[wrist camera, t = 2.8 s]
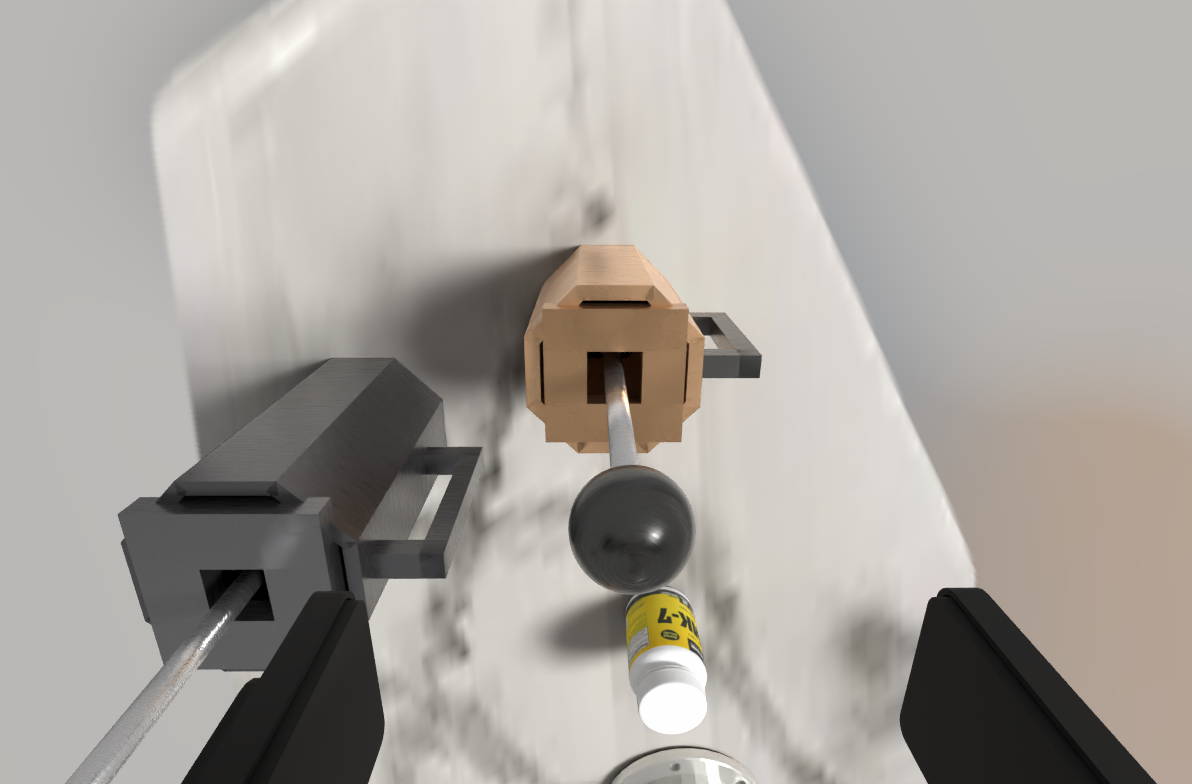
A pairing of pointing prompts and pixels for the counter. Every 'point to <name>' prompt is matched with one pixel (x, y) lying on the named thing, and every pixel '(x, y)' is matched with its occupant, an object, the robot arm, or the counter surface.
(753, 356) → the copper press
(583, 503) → the grey ball handle
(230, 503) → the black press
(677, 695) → the supplement bottle
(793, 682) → the counter surface
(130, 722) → the plunger rod
